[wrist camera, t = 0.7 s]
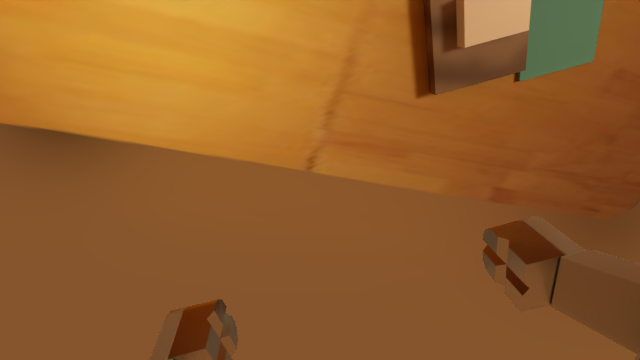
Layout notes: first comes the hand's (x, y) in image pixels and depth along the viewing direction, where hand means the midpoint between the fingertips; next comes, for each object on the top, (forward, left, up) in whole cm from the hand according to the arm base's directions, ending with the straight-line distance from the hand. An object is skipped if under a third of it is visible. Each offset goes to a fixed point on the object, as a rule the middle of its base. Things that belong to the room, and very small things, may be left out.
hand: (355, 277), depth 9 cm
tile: (-1, +28, -38) cm, 47 cm away
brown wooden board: (-1, +27, -40) cm, 48 cm away
